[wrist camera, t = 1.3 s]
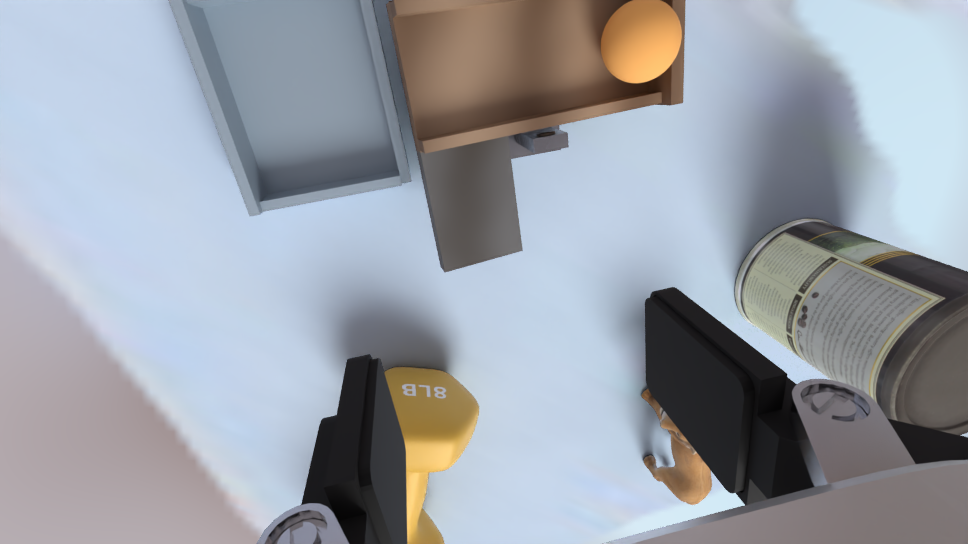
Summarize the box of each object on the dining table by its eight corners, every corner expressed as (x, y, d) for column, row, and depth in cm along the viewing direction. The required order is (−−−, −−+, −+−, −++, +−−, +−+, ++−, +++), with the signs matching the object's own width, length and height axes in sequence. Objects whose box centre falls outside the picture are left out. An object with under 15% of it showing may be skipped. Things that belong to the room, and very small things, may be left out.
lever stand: (540, -53, 27) (571, -81, 22) (557, 147, 32) (586, 161, 27) (473, -43, 27) (489, -70, 22) (500, 158, 32) (519, 174, 27)
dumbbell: (435, 530, 45) (442, 621, 37) (337, 529, 42) (324, 625, 35) (476, 363, 38) (495, 433, 31) (363, 352, 36) (354, 424, 28)
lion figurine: (620, 363, 40) (676, 437, 32) (677, 342, 40) (747, 410, 32) (645, 478, 46) (697, 564, 38) (695, 459, 47) (757, 541, 38)
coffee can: (832, 192, 37) (1060, 255, 24) (854, 289, 41) (1057, 386, 29) (717, 260, 38) (880, 355, 25) (750, 348, 42) (904, 469, 29)
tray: (366, -27, 26) (361, -40, 23) (410, 175, 31) (411, 185, 28) (191, -2, 25) (164, -11, 23) (264, 202, 30) (249, 216, 27)
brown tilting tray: (632, -24, 28) (686, -43, 24) (636, 203, 33) (680, 219, 29) (381, 9, 24) (396, -7, 20) (435, 258, 30) (454, 284, 26)
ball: (585, 9, 25) (624, -3, 21) (652, -2, 26) (700, -15, 22) (589, 88, 27) (626, 89, 23) (652, 76, 27) (697, 76, 24)
